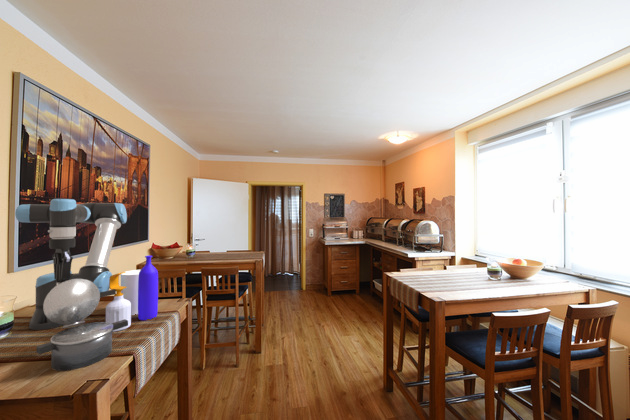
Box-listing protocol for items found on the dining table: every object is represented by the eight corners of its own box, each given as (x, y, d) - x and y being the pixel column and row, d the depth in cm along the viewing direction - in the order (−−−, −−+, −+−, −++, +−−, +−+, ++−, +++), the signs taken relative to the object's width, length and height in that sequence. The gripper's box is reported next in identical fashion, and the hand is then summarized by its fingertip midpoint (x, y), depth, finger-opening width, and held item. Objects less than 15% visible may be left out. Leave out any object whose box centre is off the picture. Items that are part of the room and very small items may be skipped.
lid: (44, 334, 91) (42, 333, 92) (116, 313, 109) (114, 313, 110) (43, 284, 92) (41, 283, 93) (115, 272, 110) (113, 272, 111)
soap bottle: (117, 333, 112) (118, 275, 113) (100, 331, 114) (100, 274, 114) (135, 324, 121) (136, 270, 121) (119, 322, 123) (119, 269, 123)
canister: (118, 309, 139) (119, 271, 139) (148, 304, 148) (149, 268, 148) (122, 317, 129) (122, 276, 129) (154, 310, 138) (154, 272, 138)
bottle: (154, 312, 135) (154, 254, 135) (160, 316, 130) (161, 255, 130) (135, 317, 129) (135, 256, 129) (141, 322, 123) (142, 257, 124)
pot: (29, 366, 88) (29, 339, 88) (116, 336, 109) (116, 314, 109) (46, 382, 79) (47, 352, 79) (137, 346, 101) (137, 323, 101)
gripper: (43, 237, 105) (42, 297, 104) (55, 239, 98) (54, 303, 97) (68, 236, 111) (67, 293, 111) (81, 238, 104) (80, 298, 104)
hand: (61, 297), depth 104 cm, fingers closed
